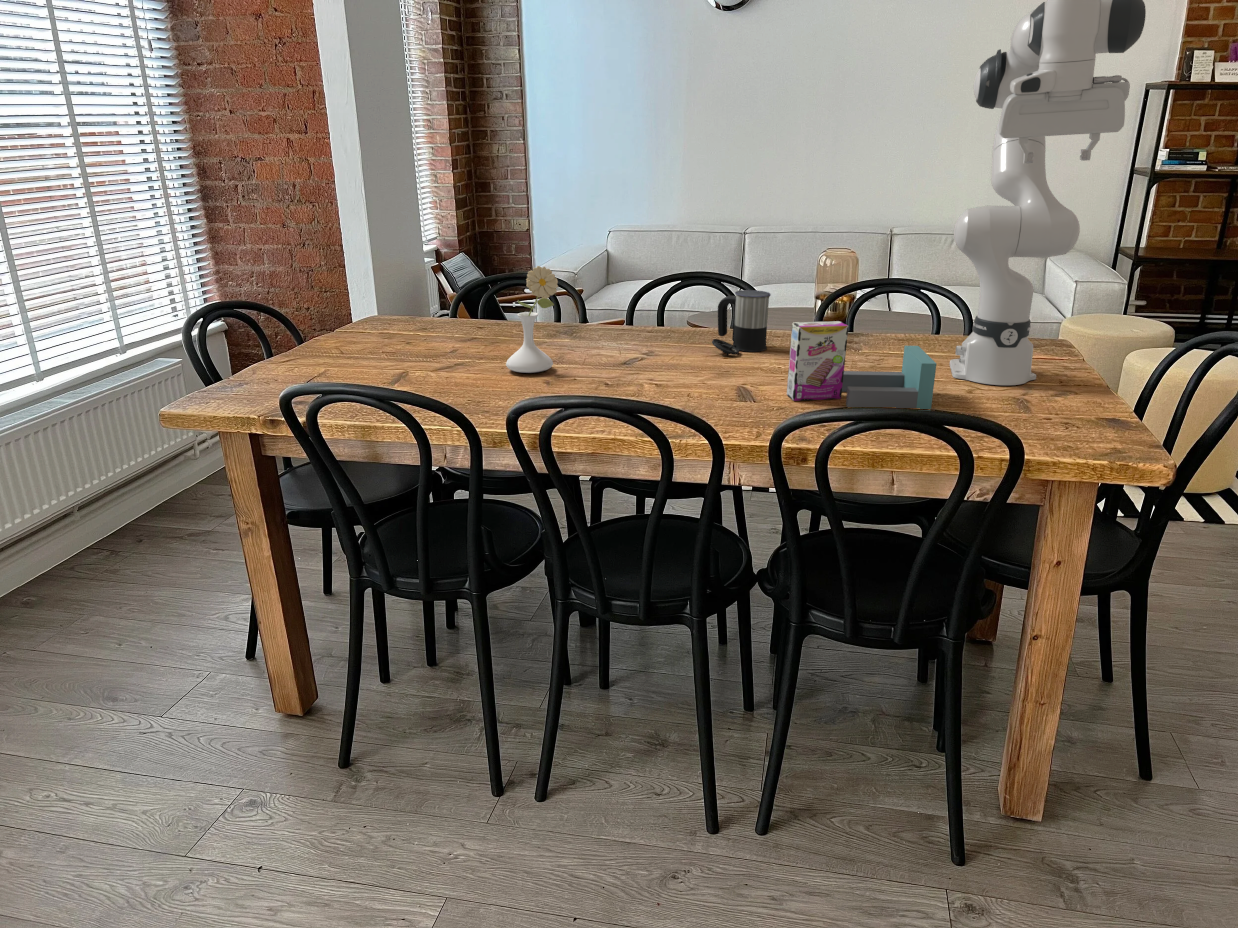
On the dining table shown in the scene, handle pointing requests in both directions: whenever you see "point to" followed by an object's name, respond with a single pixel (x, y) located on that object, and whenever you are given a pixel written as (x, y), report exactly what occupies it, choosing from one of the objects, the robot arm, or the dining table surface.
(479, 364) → the dining table surface
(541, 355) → the flower in vase
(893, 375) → the grey and teal stand
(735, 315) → the milk frother
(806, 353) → the candy bar box
